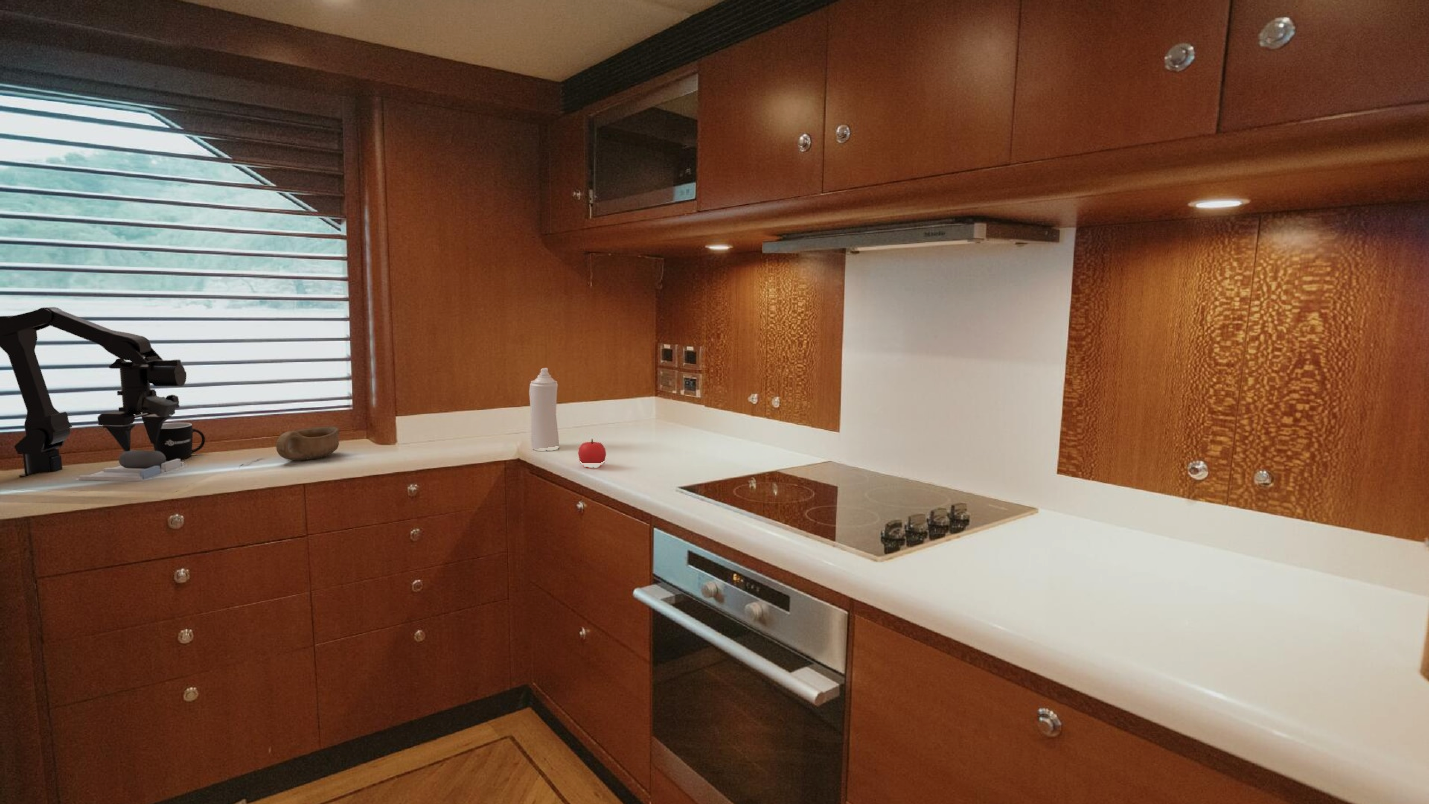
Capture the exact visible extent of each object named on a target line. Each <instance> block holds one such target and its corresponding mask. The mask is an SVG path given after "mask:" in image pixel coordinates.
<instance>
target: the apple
mask: <svg viewBox="0 0 1429 804" xmlns="http://www.w3.org/2000/svg"><path fill="white" fill-rule="evenodd" d="M577 453H578V460H579V462H580V461H581V462H582V463H601V462H603V461H605V460H606V455H607V452H606V448H605V446H604V445H603V443H601V442H597V441H594V438H591V441H587V442H583V443H582V444H581V445H580V446H579V447H578V452H577ZM605 462H606V461H605Z"/></svg>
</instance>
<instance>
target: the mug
mask: <svg viewBox="0 0 1429 804" xmlns="http://www.w3.org/2000/svg"><path fill="white" fill-rule="evenodd" d="M193 433H198V435H200V437H201V442H200V444H199V445H198V446H197V447H195V448H194V449H193V440H194V439H193V437H194V435H193ZM205 443H206V438H205V435H204V433H203V432H202V431H201V430H199V429H197V428H193V424H192V423H190V422H167V423H165V422H164V423H163V425H162V427H161V430H160V434H159V437H158V440H157V443H156V444H152V445H153V449H154V450H153V451H159V452H162V453H163V454H164V455H165V457H166V462H168V461H171V460H175V459H180V461H182V460H183V461H184V460H187V459H190V458H191V456H192V455H193V453H196V452H198V451H200V450H201V449H202V448H203V447H204V445H205Z"/></svg>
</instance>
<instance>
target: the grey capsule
mask: <svg viewBox="0 0 1429 804" xmlns="http://www.w3.org/2000/svg"><path fill="white" fill-rule="evenodd" d="M165 462H167V461H166V457H165V455H164V454H163V453H162V452H159V451H155V450H137V449H136V450H133V449H130V451H123V452H122V453H120V455H119V457H118V463H119V464H120V465H121V466H123V467H125V468H137V469H147V468H150V467H153V466H160V467H162V466H161V464H162V463H165ZM120 465H119V466H120Z"/></svg>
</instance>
